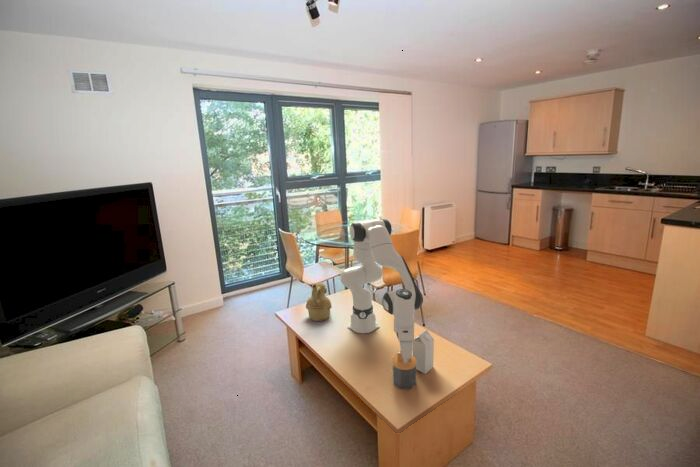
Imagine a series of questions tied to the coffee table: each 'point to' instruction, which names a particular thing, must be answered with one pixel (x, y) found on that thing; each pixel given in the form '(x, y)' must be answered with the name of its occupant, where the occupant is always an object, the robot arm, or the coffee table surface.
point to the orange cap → (399, 363)
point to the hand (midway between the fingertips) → (404, 355)
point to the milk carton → (423, 351)
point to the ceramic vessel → (319, 303)
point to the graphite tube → (404, 378)
